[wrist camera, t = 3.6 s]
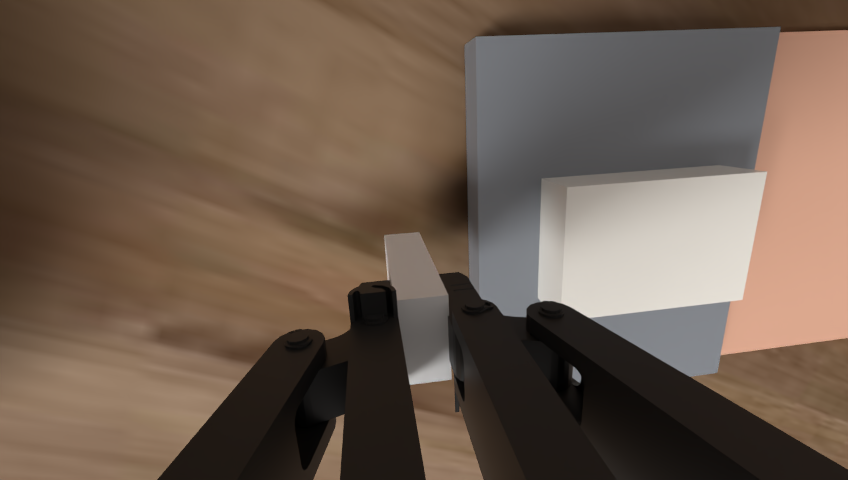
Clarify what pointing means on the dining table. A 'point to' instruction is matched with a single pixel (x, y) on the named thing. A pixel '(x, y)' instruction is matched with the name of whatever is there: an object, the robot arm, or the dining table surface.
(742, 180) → the tile
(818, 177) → the mat
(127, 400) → the dining table surface
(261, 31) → the dining table surface
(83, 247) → the dining table surface
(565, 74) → the grey slab
